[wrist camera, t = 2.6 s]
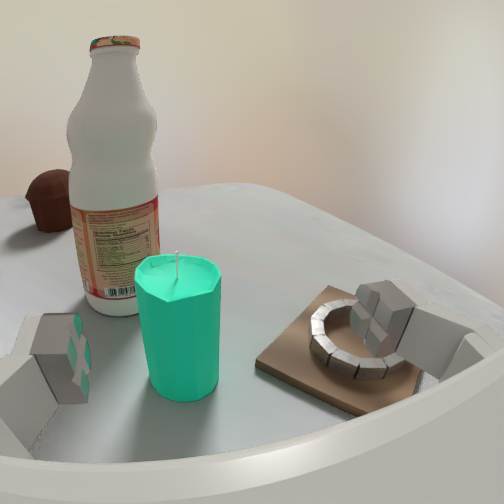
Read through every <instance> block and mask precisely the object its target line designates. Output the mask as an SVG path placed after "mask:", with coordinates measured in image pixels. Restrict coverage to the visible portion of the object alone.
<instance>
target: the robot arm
mask: <svg viewBox="0 0 504 504" xmlns="http://www.w3.org/2000/svg"><path fill="white" fill-rule="evenodd" d="M355 297H356V299H357V302H356V303H355V304H354V306H353V307H352V308H351V312H350V325H351V327H352V330H353V331H354V332H355V334H356V335H357V336H359V337H361V338H363V339H364V345H365V346H366V348H367V349H368V350H369V351H370V353H371V354H372V355H373V356H374V358H377V357H380V356H384V355H388V354H391V353H395V352H396V353H395V354H397V355H398V356H400V357H402V358H403V359H405V360H407V361H408V362H410V363H412V364H413V365H415V366H417V367H418V368H420V369H422V370H423V371H425V372H427V373H429V374H430V375H432V376H434V377H435V378H437V379H439V382H438V383H437V384H436V385H434V386H432V387H430V388H428V389H426V390H424V391H421V392H419V393H417V394H415V395H413V396H410V397H408V398H406V399H403V400H401V401H399V402H396V403H394V404H391V405H389V406H386V407H384V408H381V409H379V410H376V411H374V412H371V413H368V414H366V415H363V416H360V417H357V418H355V419H352V420H349V421H346V422H343V423H340V424H337V425H334V426H331V427H327V428H324V429H321V430H318V431H314V432H311V433H307V434H304V435H300V436H296V437H293V438H289V439H285V440H281V441H277V442H273V443H268V444H264V445H259V446H255V447H250V448H245V449H240V450H234V451H229V452H223V453H217V454H210V455H204V456H196V457H188V458H180V459H170V460H159V461H146V462H126V463H74V462H55V461H42V460H35V459H34V457H33V456H32V455H31V454H30V453H29V452H28V450H29V449H30V447H31V446H32V444H33V443H34V441H35V440H36V438H37V437H38V435H39V434H40V432H41V431H42V429H43V428H44V427H45V425H46V424H47V422H48V421H49V419H50V418H51V416H52V415H53V414H54V412H55V411H56V409H57V408H58V406H59V405H58V404H80V403H88V390H89V383H88V380H87V378H86V375H87V374H88V373H89V372H90V366H91V360H90V350H89V345H88V342H87V338H86V337H85V336H83V335H82V334H81V332H82V326H83V325H82V322H81V319H80V315H79V314H78V313H44V314H42V313H41V314H28V315H26V316H25V318H24V321H23V323H22V326H21V328H20V331H19V334H18V336H17V339H16V342H15V345H14V347H13V350H12V353H11V355H5V356H4V357H3V358H2V359H1V360H0V504H504V339H503V338H502V337H501V336H500V335H499V334H497V333H496V332H495V331H494V330H493V329H492V328H491V327H490V326H489V325H488V324H485V323H483V322H480V321H478V320H475V319H472V318H470V317H467V316H465V315H462V314H460V313H457V312H455V311H452V310H449V309H447V308H444V307H442V306H439V305H436V304H434V303H428V302H427V301H425V300H424V299H423V298H422V297H421V296H420V295H419V294H418V293H416V292H415V291H414V290H413V289H412V288H411V287H410V286H408V285H407V284H406V283H405V282H404V281H403V280H401V279H398V278H394V279H389V280H385V281H380V282H374V283H368V284H362V285H360V286H359V287H358V289H357V291H356V294H355Z"/></svg>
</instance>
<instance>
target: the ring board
mask: <svg viewBox="0 0 504 504" xmlns="http://www.w3.org/2000/svg"><path fill="white" fill-rule="evenodd" d="M340 299H342V300H344V299H351V300H357V299H356V297H355V295H352V294H350V293H347V292H344V291H342V290H339V289H337V288H334V287H332V286H329V285H328V286H327V287H326V288H325V289H324V290H323V292H322V293H321V294H320V295H319V296H318V297H317V298H316V299H315V300H314V301H313V302H312V303H311V304H310V305H309V306H308V307H307V308H306V309H305V310H304V311H303V312H302V313H301V315H300V316H299V317H298V318H297V319H296V320H295V321H294V322H293V323H292V324H291V325H290V326H289V327H288V328H287V329H286V330H285V331H284V332H283V333H282V334H281V335H280V336H279V337H278V338H277V339H276V340H275V341H274V342H273V343H272V344H271V345H270V346H269V347H268V348H266V349H265V350H264V351H263V352H262V353H261V354H260V355H259V356H258V357H257V358H256V362H255V367H257V368H259V369H261V370H263V371H265V372H267V373H269V374H271V375H272V376H274V377H276V378H278V379H280V380H282V381H284V382H286V383H288V384H290V385H292V386H294V387H296V388H298V389H300V390H302V391H304V392H306V393H308V394H310V395H312V396H314V397H316V398H318V399H321V400H323V401H325V402H327V403H329V404H331V405H333V406H336V407H338V408H340V409H342V410H344V411H347V412H349V413H351V414H353V415H356V416H358V417H360V416H363V415H366V414H368V413H371V412H374V411H376V410H379V409H381V408H384V407H386V406H389V405H391V404H394V403H396V402H399V401H401V400H403V399H406V398H408V397H410V396H412V395H413V391H414V388H415V385H416V382H417V379H418V376H419V372H420V368H418V367H417V366H415V365H413V364H412V363H410V362H408V361H406V363H405V365H404V367H403V369H401V370H400V371H398V372H397V373H395V374H393V375H391V376H389V377H388V378H386V379H384V380H383V379H381V380H355V377H353V379H351V378H348V377H346V376H344V375H341V374H339V373H337V372H335V371H333V370H330V369H328V368H327V367H328V365H327V366H324V365H323V364H322V362H321V361H320V360H319V359H318V358H317V357H316V356H315V354H314V353H313V352H312V351H311V350H310V348H311V347H309V338H308V328H309V324H310V319H311V316H312V315H313V314H314V313H315V312H316V311H317V310H318V309H319V307H320V306H321V305H323V304H325V303H329V302H333V301H336V300H340ZM324 331H325V335H326V336H327V337H328V338H329V339H330V340H331V341H332V342H333V343H334V344H335V345H336V347H337V348H338V349H340V350H343V351H345V352H347V353H350V354H352V355H354V356H357V357H359V358H374V356H373V355H372V354H371V353H370V351H369V350H368V349H367V348H366V346H365V345H364V339H363V338H361V337H359V336H357V335H356V334H355V332H354V331H353V330H352V327H351V325H350V318H347V317H343V318H340V319H337V320H333V321H330V322H328V323H327V324H326V325H325V327H324ZM391 354H393V353H391ZM391 354H388V355H384V356H380V357H377V358H380V359H382V358H384V357H386V356H389V355H391Z"/></svg>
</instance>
